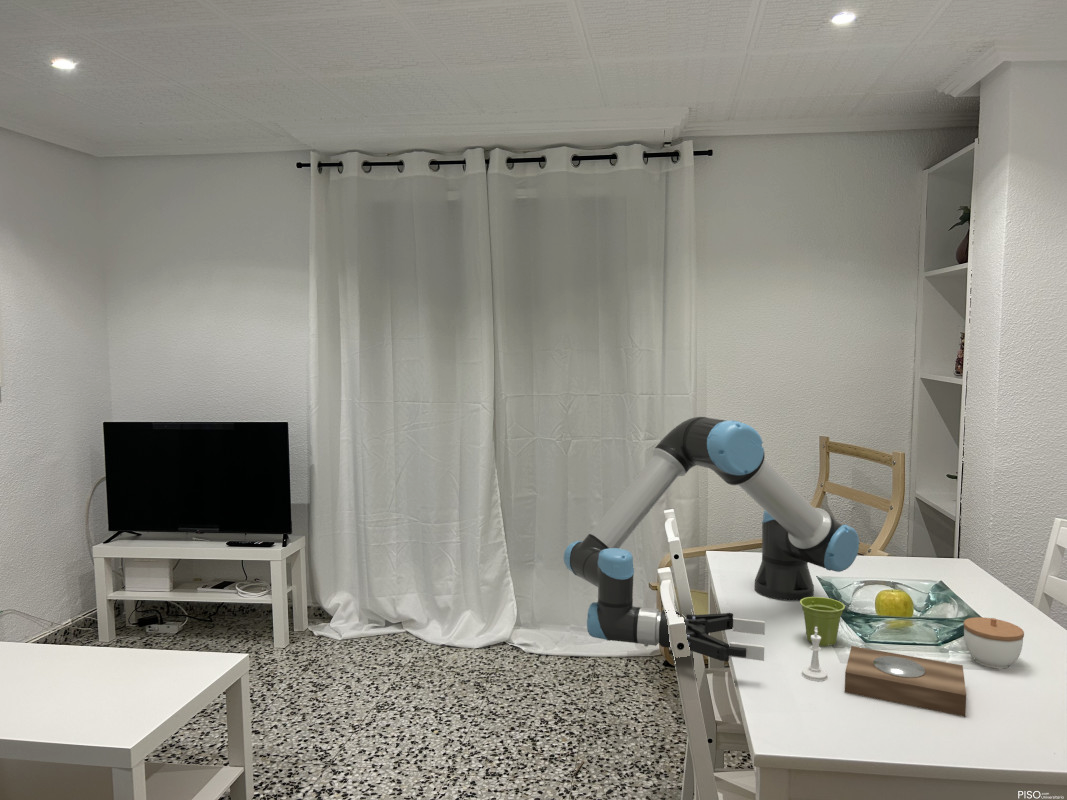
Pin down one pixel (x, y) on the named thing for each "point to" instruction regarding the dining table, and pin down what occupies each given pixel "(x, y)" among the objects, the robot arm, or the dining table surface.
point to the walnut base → (906, 680)
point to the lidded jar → (993, 641)
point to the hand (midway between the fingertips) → (764, 640)
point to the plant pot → (822, 618)
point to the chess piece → (815, 662)
